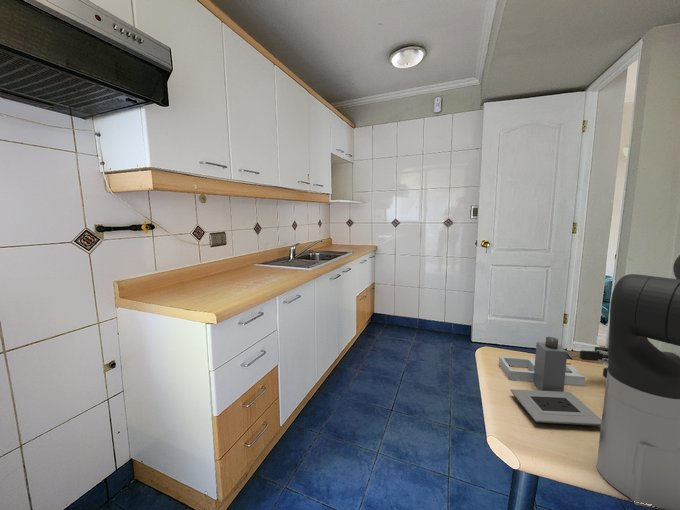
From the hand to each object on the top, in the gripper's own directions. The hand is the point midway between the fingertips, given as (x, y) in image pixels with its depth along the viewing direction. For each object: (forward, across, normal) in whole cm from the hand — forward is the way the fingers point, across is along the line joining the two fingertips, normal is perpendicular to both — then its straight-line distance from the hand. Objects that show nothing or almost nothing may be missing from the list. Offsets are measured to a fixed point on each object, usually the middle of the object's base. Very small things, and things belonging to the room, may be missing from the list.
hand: (591, 363), depth 68 cm
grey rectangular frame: (+8, -7, +8) cm, 13 cm away
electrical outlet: (+12, +9, +8) cm, 17 cm away
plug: (+9, 0, +8) cm, 11 cm away
